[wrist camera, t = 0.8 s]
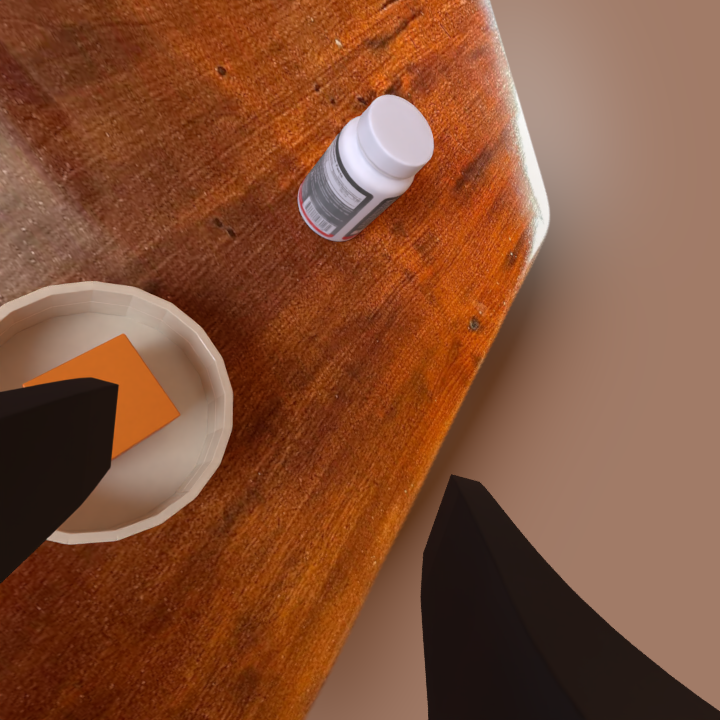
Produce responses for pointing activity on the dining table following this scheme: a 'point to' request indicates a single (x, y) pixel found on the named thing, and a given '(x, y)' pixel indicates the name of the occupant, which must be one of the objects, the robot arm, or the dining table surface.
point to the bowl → (169, 366)
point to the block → (121, 390)
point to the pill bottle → (365, 168)
